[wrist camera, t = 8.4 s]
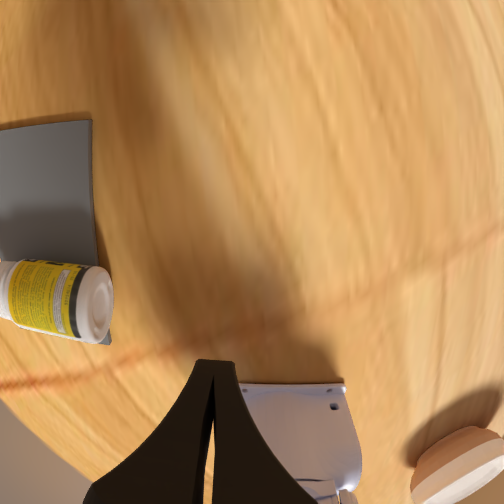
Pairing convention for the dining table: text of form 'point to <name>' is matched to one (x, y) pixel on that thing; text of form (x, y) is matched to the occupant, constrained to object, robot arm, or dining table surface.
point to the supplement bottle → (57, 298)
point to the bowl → (457, 466)
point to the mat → (48, 195)
